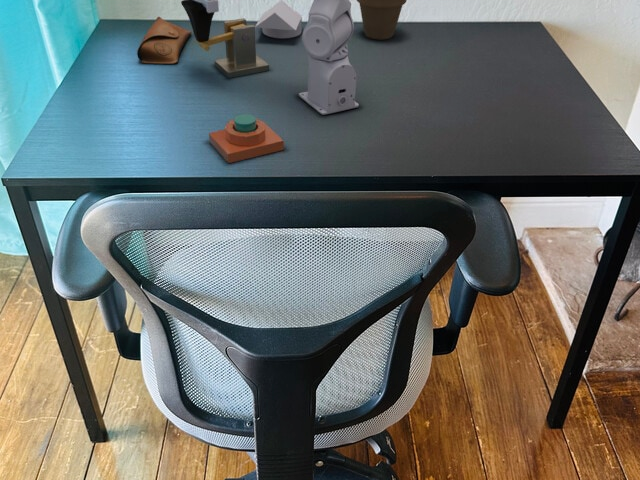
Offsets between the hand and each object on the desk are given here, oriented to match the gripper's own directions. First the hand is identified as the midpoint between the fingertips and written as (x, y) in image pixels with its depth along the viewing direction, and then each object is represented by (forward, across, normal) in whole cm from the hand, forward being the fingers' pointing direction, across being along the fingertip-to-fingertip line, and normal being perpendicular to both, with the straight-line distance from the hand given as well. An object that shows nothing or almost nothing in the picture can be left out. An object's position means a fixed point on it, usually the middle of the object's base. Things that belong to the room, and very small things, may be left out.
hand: (202, 40), depth 128 cm
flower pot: (+7, -4, +44) cm, 45 cm away
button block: (+7, +30, -5) cm, 32 cm away
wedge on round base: (+7, -14, +24) cm, 29 cm away
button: (+4, +30, -5) cm, 31 cm away
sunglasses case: (+7, -17, -2) cm, 19 cm away
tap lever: (+1, 0, +4) cm, 5 cm away
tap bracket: (+7, 0, +8) cm, 10 cm away
